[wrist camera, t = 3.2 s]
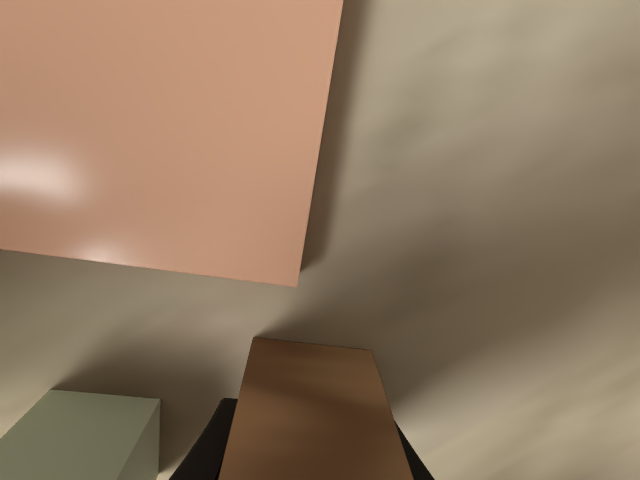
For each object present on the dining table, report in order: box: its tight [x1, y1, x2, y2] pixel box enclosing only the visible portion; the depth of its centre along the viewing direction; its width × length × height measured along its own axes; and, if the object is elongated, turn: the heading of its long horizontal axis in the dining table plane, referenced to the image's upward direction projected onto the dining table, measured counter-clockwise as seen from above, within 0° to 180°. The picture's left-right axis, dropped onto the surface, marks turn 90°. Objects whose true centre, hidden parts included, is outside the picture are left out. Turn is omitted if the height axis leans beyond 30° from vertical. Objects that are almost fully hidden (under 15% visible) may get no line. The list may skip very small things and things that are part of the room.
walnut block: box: [218, 338, 414, 480], centre depth 10 cm, size 4×4×6 cm
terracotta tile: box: [0, 0, 343, 287], centre depth 8 cm, size 13×13×1 cm
